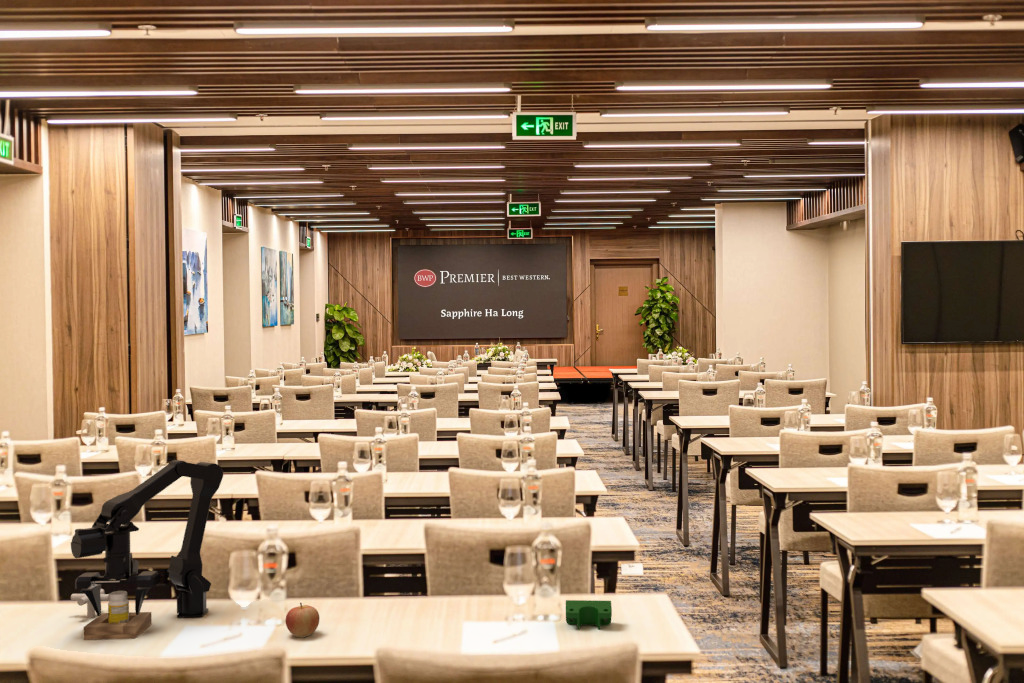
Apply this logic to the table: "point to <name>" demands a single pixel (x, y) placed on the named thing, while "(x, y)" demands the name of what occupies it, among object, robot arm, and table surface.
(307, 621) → the apple
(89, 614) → the pipe connector
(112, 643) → the table surface
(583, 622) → the clamp
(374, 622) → the table surface
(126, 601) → the supplement bottle
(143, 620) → the holder
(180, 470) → the robot arm
